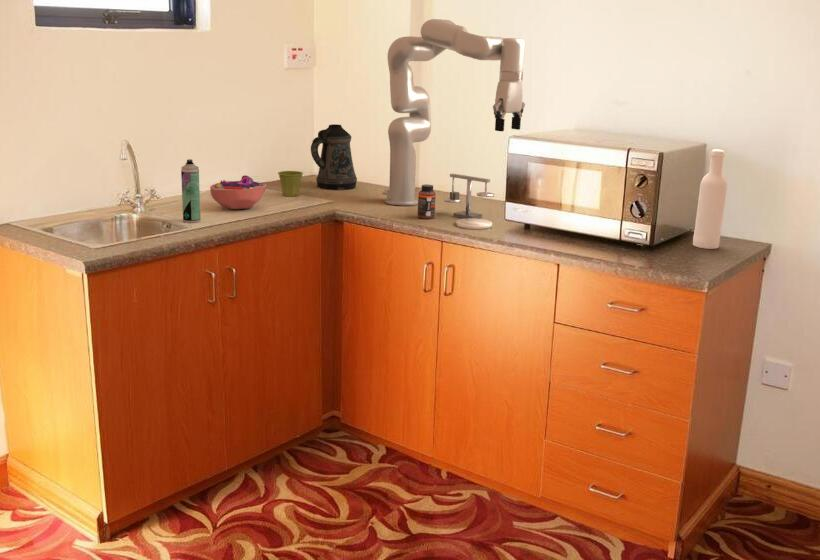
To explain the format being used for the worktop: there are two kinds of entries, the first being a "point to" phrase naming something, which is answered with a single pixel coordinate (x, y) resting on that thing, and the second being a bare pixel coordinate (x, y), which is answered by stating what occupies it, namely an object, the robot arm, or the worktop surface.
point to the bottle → (711, 205)
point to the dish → (474, 223)
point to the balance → (467, 196)
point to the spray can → (190, 192)
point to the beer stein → (334, 159)
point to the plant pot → (290, 182)
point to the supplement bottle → (426, 202)
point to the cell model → (238, 193)
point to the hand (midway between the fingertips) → (507, 130)
